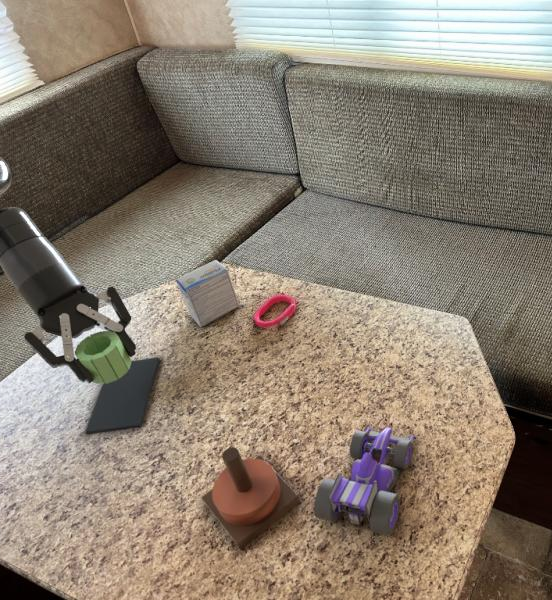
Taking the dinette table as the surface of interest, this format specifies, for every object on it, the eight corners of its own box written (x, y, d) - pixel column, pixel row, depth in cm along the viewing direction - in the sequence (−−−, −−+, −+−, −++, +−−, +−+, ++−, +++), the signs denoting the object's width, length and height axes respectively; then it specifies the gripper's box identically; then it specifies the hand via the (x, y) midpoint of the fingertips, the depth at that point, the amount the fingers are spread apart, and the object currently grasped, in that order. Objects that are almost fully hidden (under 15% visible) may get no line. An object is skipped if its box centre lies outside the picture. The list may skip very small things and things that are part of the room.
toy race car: (424, 442, 83) (421, 412, 79) (390, 543, 72) (384, 514, 68) (359, 429, 85) (352, 399, 81) (317, 525, 75) (307, 496, 71)
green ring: (99, 390, 88) (84, 366, 84) (83, 369, 91) (68, 345, 88) (137, 368, 91) (125, 344, 87) (121, 348, 94) (108, 325, 91)
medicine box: (229, 296, 112) (216, 258, 106) (241, 307, 109) (228, 268, 103) (190, 316, 108) (174, 278, 102) (201, 328, 105) (185, 290, 100)
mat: (140, 427, 89) (139, 424, 89) (86, 434, 89) (84, 431, 89) (160, 359, 100) (159, 357, 100) (111, 366, 100) (110, 363, 100)
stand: (240, 550, 73) (215, 503, 66) (204, 503, 79) (178, 455, 72) (300, 502, 77) (283, 453, 71) (262, 461, 83) (243, 411, 76)
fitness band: (275, 333, 103) (273, 326, 102) (248, 324, 105) (246, 317, 104) (302, 304, 108) (301, 298, 107) (276, 296, 110) (275, 290, 109)
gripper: (-12, 294, 81) (65, 394, 82) (89, 243, 89) (158, 335, 90) (-6, 308, 88) (66, 401, 89) (88, 259, 95) (153, 345, 96)
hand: (112, 367), depth 89 cm, fingers closed on green ring, 6 cm apart
